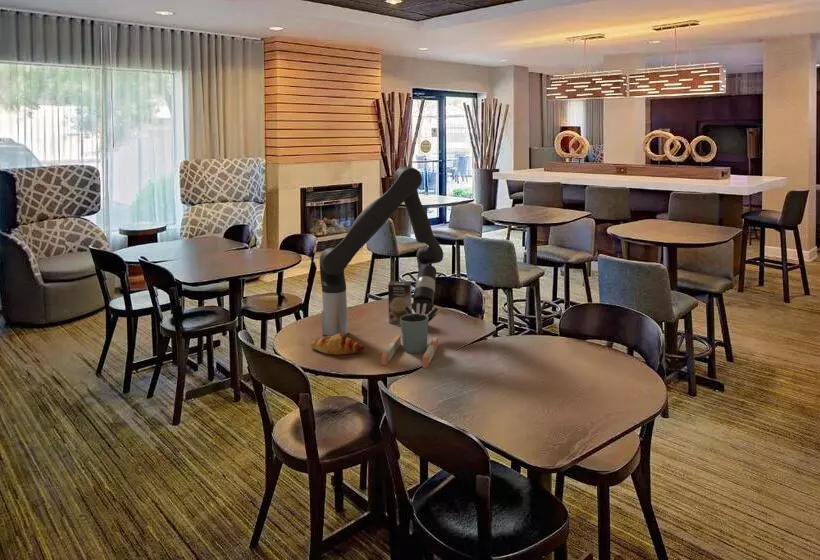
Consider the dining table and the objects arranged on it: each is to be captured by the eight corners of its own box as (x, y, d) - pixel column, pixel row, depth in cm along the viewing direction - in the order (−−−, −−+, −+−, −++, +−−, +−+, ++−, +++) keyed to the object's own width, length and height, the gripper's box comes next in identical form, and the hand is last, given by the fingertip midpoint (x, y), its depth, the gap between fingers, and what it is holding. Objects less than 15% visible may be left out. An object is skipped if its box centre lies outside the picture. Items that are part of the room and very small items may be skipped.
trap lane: (381, 365, 226) (381, 355, 225) (396, 344, 247) (396, 335, 246) (426, 367, 223) (426, 357, 222) (438, 346, 244) (437, 337, 243)
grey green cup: (432, 346, 244) (431, 314, 242) (424, 355, 235) (423, 322, 232) (405, 343, 248) (405, 312, 245) (396, 352, 238) (396, 320, 235)
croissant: (307, 360, 243) (301, 344, 238) (317, 340, 250) (311, 324, 245) (362, 364, 236) (357, 348, 231) (370, 343, 243) (366, 328, 238)
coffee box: (388, 323, 273) (387, 284, 270) (390, 318, 279) (389, 281, 276) (410, 323, 272) (409, 285, 269) (412, 319, 279) (411, 281, 275)
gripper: (406, 285, 255) (399, 325, 246) (440, 286, 252) (435, 327, 243) (409, 295, 261) (403, 334, 252) (442, 296, 259) (437, 336, 250)
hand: (418, 331), depth 248 cm, fingers closed
